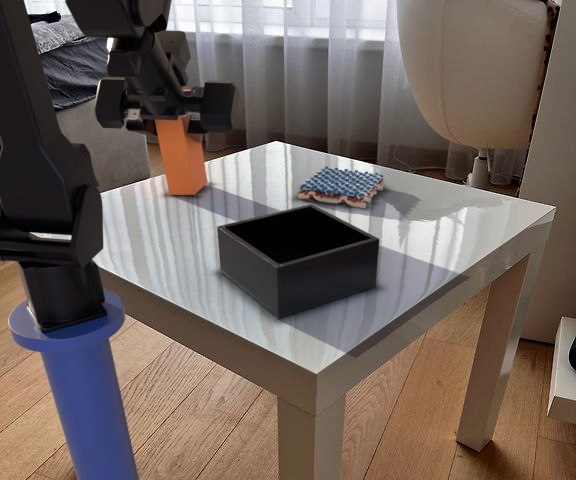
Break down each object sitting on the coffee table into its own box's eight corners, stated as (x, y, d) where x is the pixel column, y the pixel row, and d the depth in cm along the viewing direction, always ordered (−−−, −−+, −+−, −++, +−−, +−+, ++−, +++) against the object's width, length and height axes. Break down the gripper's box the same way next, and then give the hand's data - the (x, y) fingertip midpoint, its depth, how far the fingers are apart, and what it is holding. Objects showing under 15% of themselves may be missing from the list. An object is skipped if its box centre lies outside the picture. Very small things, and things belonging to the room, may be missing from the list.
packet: (194, 194, 89) (178, 97, 81) (169, 195, 90) (150, 98, 82) (207, 182, 93) (192, 89, 86) (183, 183, 94) (166, 90, 87)
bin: (278, 319, 60) (277, 267, 57) (220, 273, 68) (216, 226, 65) (375, 287, 65) (379, 238, 62) (311, 248, 74) (311, 203, 70)
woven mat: (294, 199, 87) (294, 185, 86) (322, 178, 95) (322, 164, 94) (364, 210, 84) (365, 195, 83) (387, 186, 92) (388, 172, 91)
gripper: (231, 8, 73) (256, 90, 88) (85, 6, 76) (134, 86, 91) (217, 94, 71) (245, 162, 87) (69, 89, 74) (121, 156, 90)
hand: (185, 139), depth 89 cm, fingers closed on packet, 4 cm apart
